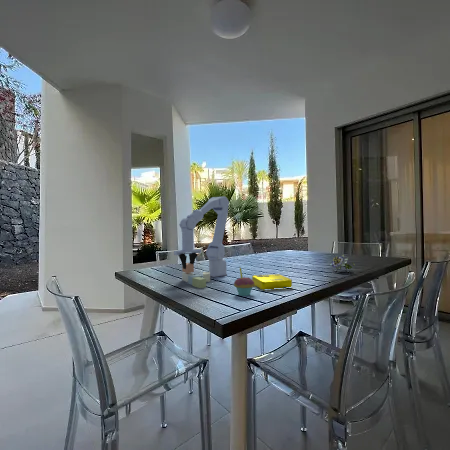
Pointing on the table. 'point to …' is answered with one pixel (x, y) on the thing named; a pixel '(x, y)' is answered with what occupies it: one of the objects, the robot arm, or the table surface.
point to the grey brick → (186, 276)
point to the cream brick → (206, 276)
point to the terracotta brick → (188, 268)
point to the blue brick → (192, 277)
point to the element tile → (271, 281)
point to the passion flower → (340, 262)
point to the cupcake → (244, 285)
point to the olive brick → (199, 282)
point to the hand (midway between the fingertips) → (188, 268)
